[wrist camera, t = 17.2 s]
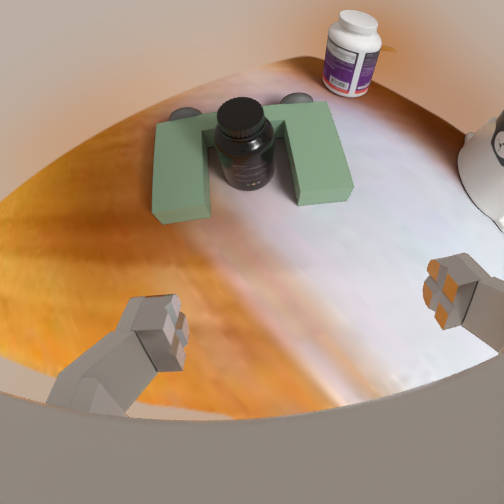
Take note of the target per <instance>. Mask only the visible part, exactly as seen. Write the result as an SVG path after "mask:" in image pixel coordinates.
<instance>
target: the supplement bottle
mask: <svg viewBox="0 0 504 504" xmlns="http://www.w3.org/2000/svg"><path fill="white" fill-rule="evenodd" d="M216 117H217V122H218V124H217V126H216V127H215V130H214V133H213V141H214V145H215V148H216V152H217V155H218V158H219V161H220V164H221V167H222V170H223V173H224V176H225V178H226V180H227V181H228V183H229V184H230V185H232V186H233V187H235V188H236V189H239V190H243V191H254V190H257V189H260V188H262V187H264V186H265V185H266V184H267V183H269V181H270V180H271V179H272V177H273V174H274V170H275V134H274V128H273V126H272V124H271V122H270V121H269V120H268V119H267V118H266V117H265V115H264V110H263V107H262V106H261V104H259V102H257V101H256V100H254V99H252V98H248V97H237V98H233V99H230V100H229V101H226V102H225V103H223V104H222V106H220V108H219V109H218V112H217V116H216Z"/></svg>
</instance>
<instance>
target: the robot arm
mask: <svg viewBox="0 0 504 504" xmlns="http://www.w3.org/2000/svg"><path fill="white" fill-rule="evenodd" d="M458 170H459V174H460V177H461V180H462V183H463V185H464V187H465V189H466V191H467V193H468V194H469V196H470V197H471V199H472V200H473V202H474V203H475V204H476V205H477V206H478V208H479V209H480V210H481V211H483V212H484V213H485V214H486V215H488V216H489V217H490V218H492V219H493V220H494V221H495V223H496V224H497V226H498V227H499V228H500V230H501V231H502V232H503V233H504V110H503V111H502V112H501V114H500V116H499V117H498V118H497V119H496V118H491V119H489V120H488V121H487V122H486V123H485V124H484V125H483V126H482V127H481V128H480V129H479V130H478V131H477V132H476V133H472V132H469V133H467V134H466V136H465V144H464V146H463V147H462V149H461V150H460V152H459V155H458ZM427 272H428V274H429V276H428V278H427V279H426V280H425V281H424V286H423V298H424V301H425V303H426V305H427V306H428V308H429V309H431V310H433V311H435V316H434V317H435V319H436V320H437V322H438V323H439V325H440V326H441V328H442V330H446V329H449V328H453V327H457V326H460V325H462V327H464V328H465V329H467V330H468V331H469V332H471V333H472V334H474V335H475V336H476V337H478V338H479V339H481V340H482V341H483V342H485V343H486V344H487V345H489V346H490V347H492V348H493V349H494V350H496V351H497V352H498V353H499V354H498V355H497V356H495V357H493V358H491V359H489V360H487V361H485V362H482V363H480V364H478V365H475V366H473V367H471V368H468V369H466V370H464V371H461V372H459V373H456V374H453V375H451V376H448V377H445V378H443V379H440V380H437V381H434V382H431V383H429V384H426V385H423V386H419V387H416V388H413V389H410V390H407V391H403V392H400V393H396V394H393V395H389V396H385V397H382V398H378V399H374V400H370V401H365V402H361V403H356V404H352V405H347V406H342V407H337V408H332V409H326V410H320V411H314V412H308V413H301V414H293V415H285V416H276V417H266V418H254V419H239V420H214V421H183V420H156V419H142V418H131V417H129V416H128V415H127V414H126V413H125V412H126V411H127V409H128V408H129V407H130V406H131V405H132V404H133V402H134V401H135V400H136V399H137V398H138V396H139V395H140V394H141V393H142V392H143V390H144V389H145V388H146V387H147V386H148V384H149V383H150V382H151V381H152V380H153V378H154V377H155V376H156V375H157V372H173V371H183V367H184V362H185V356H186V354H185V352H184V349H183V348H184V347H185V346H186V345H187V344H188V339H189V327H188V323H187V319H186V316H185V315H184V314H183V313H182V312H180V307H181V303H180V300H179V297H178V296H177V295H176V294H168V295H154V296H141V297H132V298H131V299H129V301H128V304H127V306H126V308H125V310H124V312H123V314H122V317H121V319H120V321H119V323H118V325H117V328H116V330H115V332H110V333H109V334H107V335H106V336H105V337H104V338H102V339H101V340H100V341H98V342H97V343H96V344H95V345H93V346H92V347H91V348H90V349H88V350H87V351H86V352H85V353H83V354H82V355H81V356H80V357H78V358H77V359H76V360H75V361H74V362H72V363H71V364H70V365H69V366H67V367H66V368H65V369H64V370H62V371H61V372H60V373H59V374H58V377H57V379H56V381H55V383H54V385H53V388H52V390H51V392H50V394H49V397H48V399H47V401H46V404H45V403H41V402H37V401H33V400H29V399H26V398H22V397H18V396H15V395H12V394H8V393H5V392H2V391H0V504H504V281H503V280H500V279H498V278H496V277H492V278H491V277H490V276H489V274H488V273H487V272H486V271H485V270H484V269H483V268H482V267H481V266H480V265H479V264H478V263H477V262H476V261H475V260H474V259H473V258H472V257H471V256H470V255H468V254H466V253H460V254H456V255H453V256H449V257H443V258H438V259H433V260H430V262H429V264H428V268H427Z"/></svg>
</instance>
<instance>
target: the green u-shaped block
mask: <svg viewBox="0 0 504 504" xmlns="http://www.w3.org/2000/svg"><path fill="white" fill-rule="evenodd" d="M262 107H263V110H264V115H265V117H266V118H267V119H268V120H269V121H270V122H271V124H272V126H273V128H274V134H275V138H281V137H284V140H285V144H286V149H287V154H288V158H289V163H290V168H291V173H292V178H293V183H294V188H295V193H296V199H297V204H298V206H304V205H313V204H323V203H333V202H343V201H347V199H348V198H349V196H350V194H351V192H352V190H353V188H354V185H353V181H352V178H351V174H350V171H349V167H348V164H347V161H346V157H345V154H344V151H343V148H342V145H341V142H340V139H339V136H338V133H337V130H336V127H335V124H334V121H333V118H332V115H331V113H330V110H329V107H328V104H327V102H326V101H324V102H314V101H313V99H312V97H311V96H309V95H308V94H305V93H292V94H289V95H287V96H286V97H284V98H283V99H282V100H281V102H280V104H275V105H265V106H262ZM216 116H217V112H213V113H207V114H202V113H201V112H200V111H199V110H197V109H194V108H189V107H186V108H180V109H177V110H175V111H174V112H173V113H172V114H171V115H170V117H169V121H167V122H163V123H158V124H157V125H156V137H155V150H154V165H153V186H152V214H153V215H154V216H155V217H156V218H157V219H158V220H159V221H160V222H161V223H162V224H163V225H164V224H170V223H176V222H183V221H189V220H196V219H203V218H210V217H211V206H210V190H209V173H208V153H207V147H212V146H215V145H214V141H213V133H214V130H215V127H216V126H217V124H218V122H217V117H216Z"/></svg>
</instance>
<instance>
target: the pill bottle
mask: <svg viewBox="0 0 504 504" xmlns="http://www.w3.org/2000/svg"><path fill="white" fill-rule="evenodd" d="M377 26H378V22H377V21H376V20H375V19H374V18H373V17H372V16H370V15H368V14H366V13H363V12H360V11H355V10H345V11H342V12H341V13H340V15H339V21H338V22H335V23H334V24H332V25H331V26H330V28H329V31H328V40H327V47H326V55H325V62H324V69H323V81H324V83H325V85H326V86H327V87H328V88H329V89H330V90H331V91H332V92H334V93H336V94H338V95H340V96H344V97H359V96H361V95H363V94H365V93H366V92H367V90H368V88H369V85H370V82H371V78H372V75H373V72H374V68H375V66H376V62H377V59H378V55H379V52H380V49H381V45H382V42H381V38H380V36H379V35H378V33H377V32H376V31H377Z"/></svg>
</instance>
